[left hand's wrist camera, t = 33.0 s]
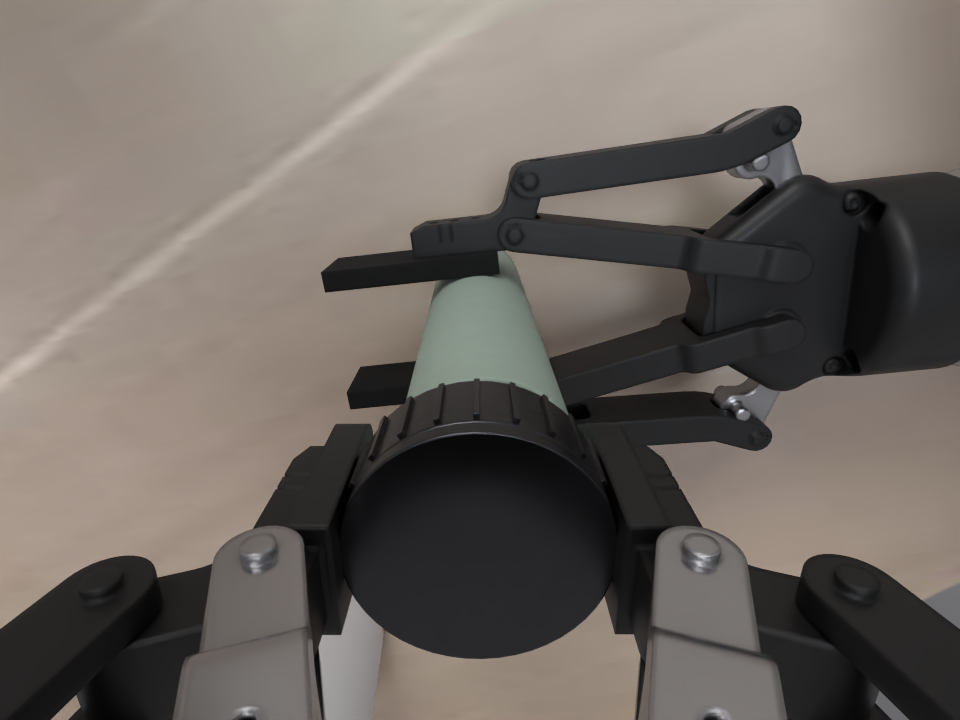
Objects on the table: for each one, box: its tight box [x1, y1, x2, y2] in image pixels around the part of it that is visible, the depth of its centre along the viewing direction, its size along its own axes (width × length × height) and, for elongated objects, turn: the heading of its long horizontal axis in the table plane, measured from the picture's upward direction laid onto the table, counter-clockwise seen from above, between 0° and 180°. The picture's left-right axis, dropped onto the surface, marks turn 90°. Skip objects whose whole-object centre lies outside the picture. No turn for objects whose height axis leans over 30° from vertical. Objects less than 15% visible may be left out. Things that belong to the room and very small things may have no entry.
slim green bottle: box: [407, 251, 569, 415], centre depth 20 cm, size 4×4×19 cm
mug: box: [319, 595, 384, 720], centre depth 32 cm, size 11×9×10 cm
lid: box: [339, 378, 618, 659], centre depth 10 cm, size 5×5×2 cm
